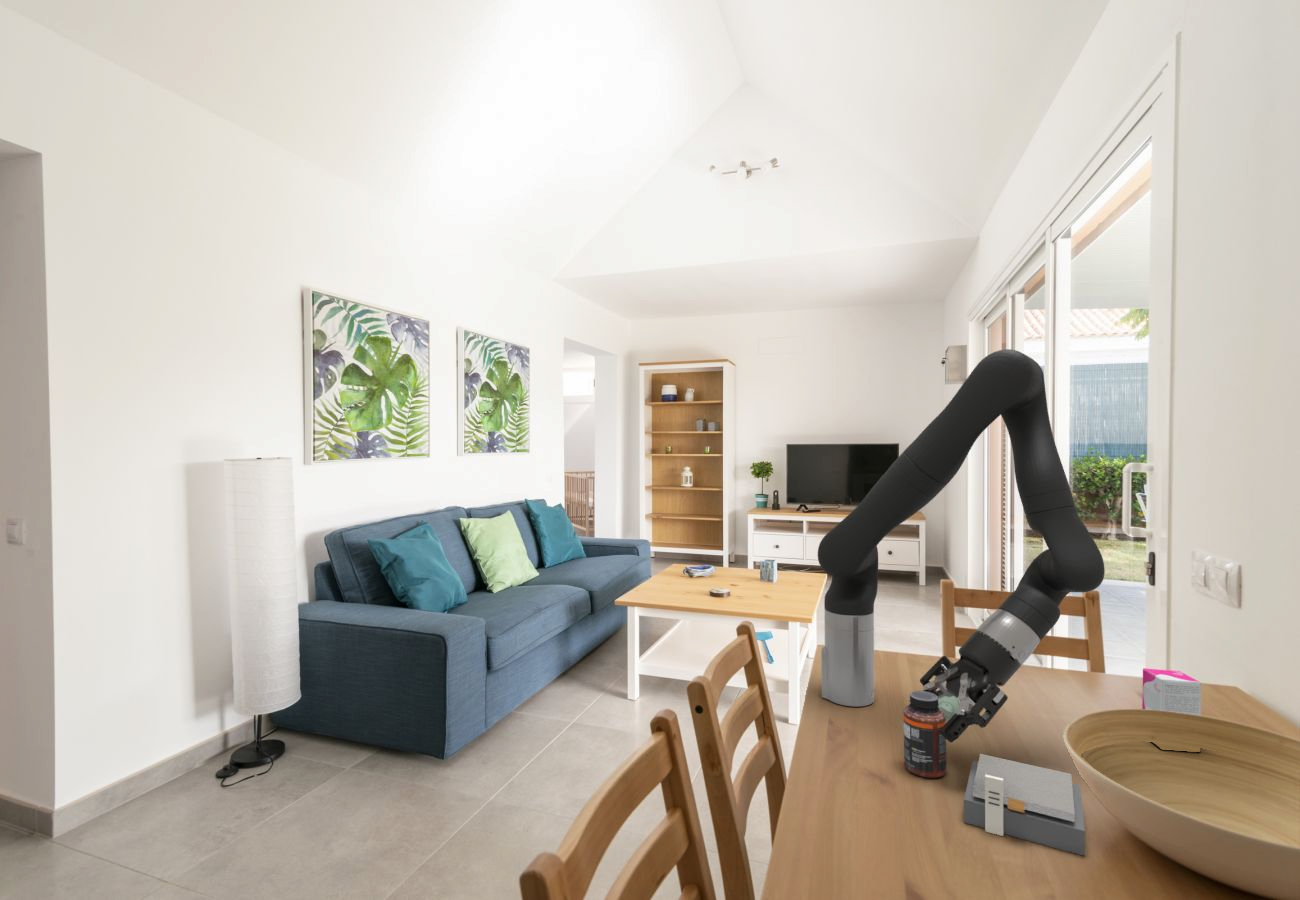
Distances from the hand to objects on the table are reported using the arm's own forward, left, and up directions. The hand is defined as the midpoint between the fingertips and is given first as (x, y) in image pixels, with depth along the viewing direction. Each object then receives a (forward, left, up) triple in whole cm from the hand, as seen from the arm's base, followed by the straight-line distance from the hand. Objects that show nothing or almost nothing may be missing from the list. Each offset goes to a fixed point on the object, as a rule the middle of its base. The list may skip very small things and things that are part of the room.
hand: (929, 725), depth 96 cm
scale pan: (+12, -7, -3) cm, 15 cm away
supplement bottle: (-1, 0, -7) cm, 7 cm away
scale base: (+12, -6, -7) cm, 16 cm away
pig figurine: (0, +17, -7) cm, 18 cm away
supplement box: (+32, +30, -7) cm, 44 cm away
